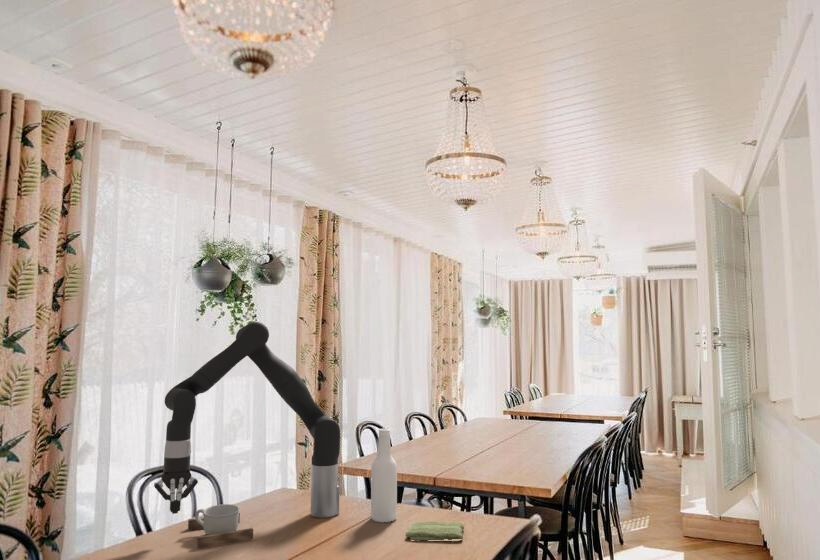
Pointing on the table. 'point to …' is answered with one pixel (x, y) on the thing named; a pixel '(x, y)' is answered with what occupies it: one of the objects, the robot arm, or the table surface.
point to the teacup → (219, 518)
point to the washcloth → (435, 530)
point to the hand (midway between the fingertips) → (174, 512)
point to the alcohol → (384, 481)
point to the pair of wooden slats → (220, 535)
